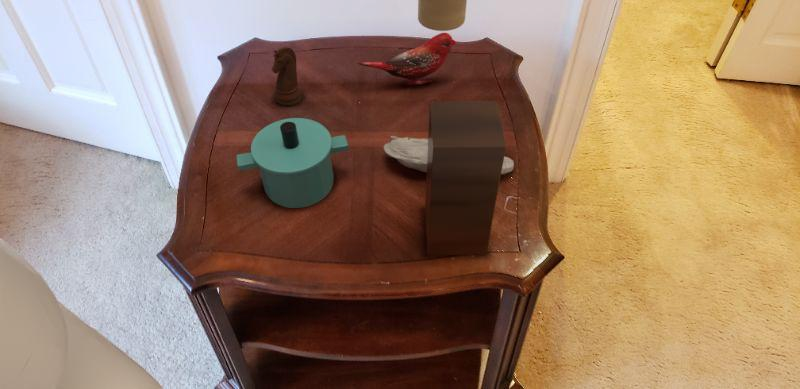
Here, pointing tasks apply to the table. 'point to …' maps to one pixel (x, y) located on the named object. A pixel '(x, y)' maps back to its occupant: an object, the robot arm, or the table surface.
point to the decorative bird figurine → (417, 60)
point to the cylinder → (441, 14)
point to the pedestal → (462, 176)
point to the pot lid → (291, 146)
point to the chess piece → (286, 77)
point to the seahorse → (421, 153)
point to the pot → (297, 179)
